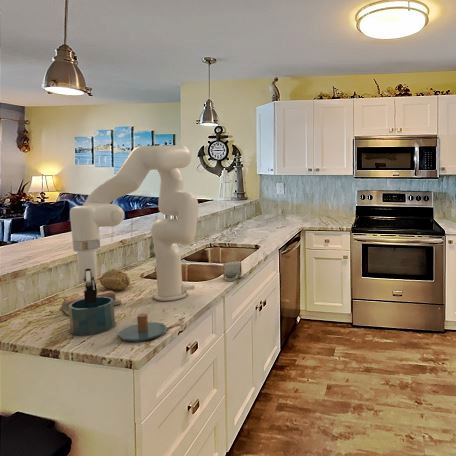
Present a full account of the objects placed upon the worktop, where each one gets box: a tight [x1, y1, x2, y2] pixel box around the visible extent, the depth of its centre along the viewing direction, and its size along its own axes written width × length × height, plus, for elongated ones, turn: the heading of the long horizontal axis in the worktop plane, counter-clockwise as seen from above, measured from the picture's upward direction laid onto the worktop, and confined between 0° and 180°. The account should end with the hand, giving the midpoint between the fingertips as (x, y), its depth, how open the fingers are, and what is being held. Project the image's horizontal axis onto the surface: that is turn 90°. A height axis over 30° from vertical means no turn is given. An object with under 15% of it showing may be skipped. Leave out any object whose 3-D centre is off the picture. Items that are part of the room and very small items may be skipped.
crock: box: [68, 297, 116, 336], centre depth 134 cm, size 13×13×8 cm
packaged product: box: [60, 290, 122, 316], centre depth 154 cm, size 18×5×10 cm
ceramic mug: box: [222, 261, 243, 282], centre depth 193 cm, size 11×8×8 cm
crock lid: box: [118, 313, 167, 342], centre depth 129 cm, size 14×14×6 cm
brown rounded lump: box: [99, 269, 131, 290], centre depth 179 cm, size 13×8×20 cm
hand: (91, 298), depth 133 cm, fingers open, 7 cm apart
